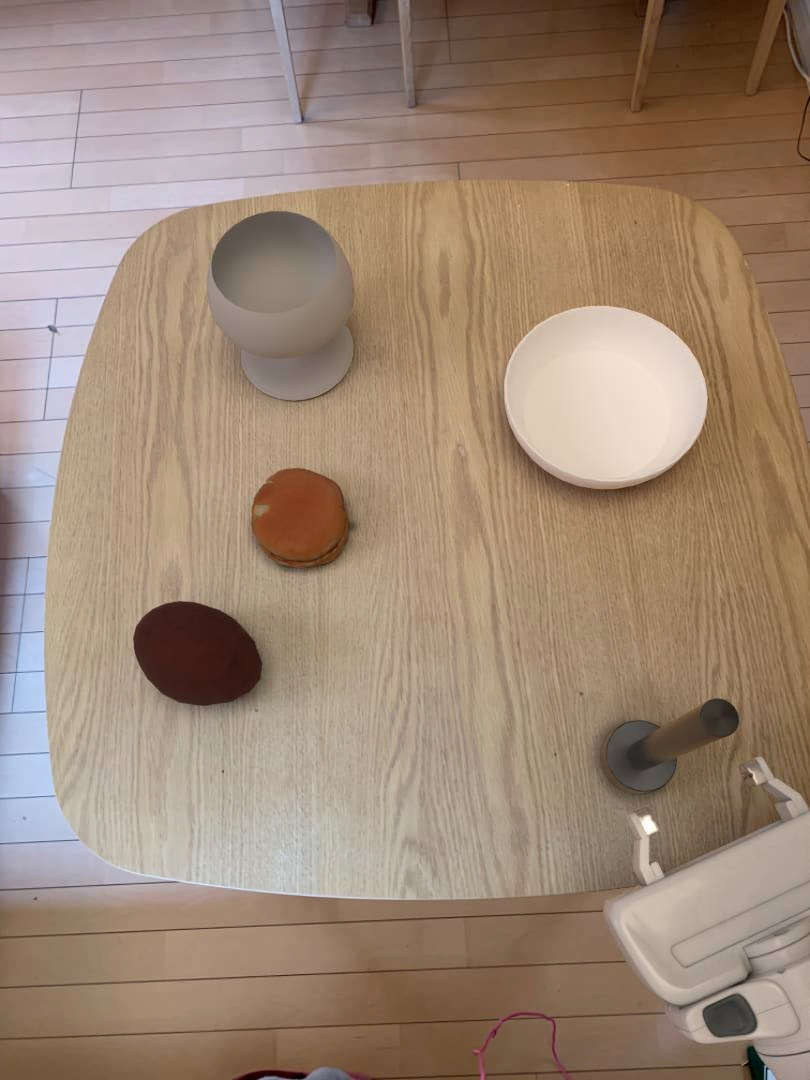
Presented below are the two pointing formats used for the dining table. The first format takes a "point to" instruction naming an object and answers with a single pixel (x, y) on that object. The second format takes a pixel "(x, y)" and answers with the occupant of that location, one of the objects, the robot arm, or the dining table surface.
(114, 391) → the dining table surface
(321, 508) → the burger
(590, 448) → the bowl
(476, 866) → the dining table surface
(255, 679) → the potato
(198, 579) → the dining table surface
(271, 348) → the chalice
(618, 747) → the rod on round base
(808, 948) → the robot arm
